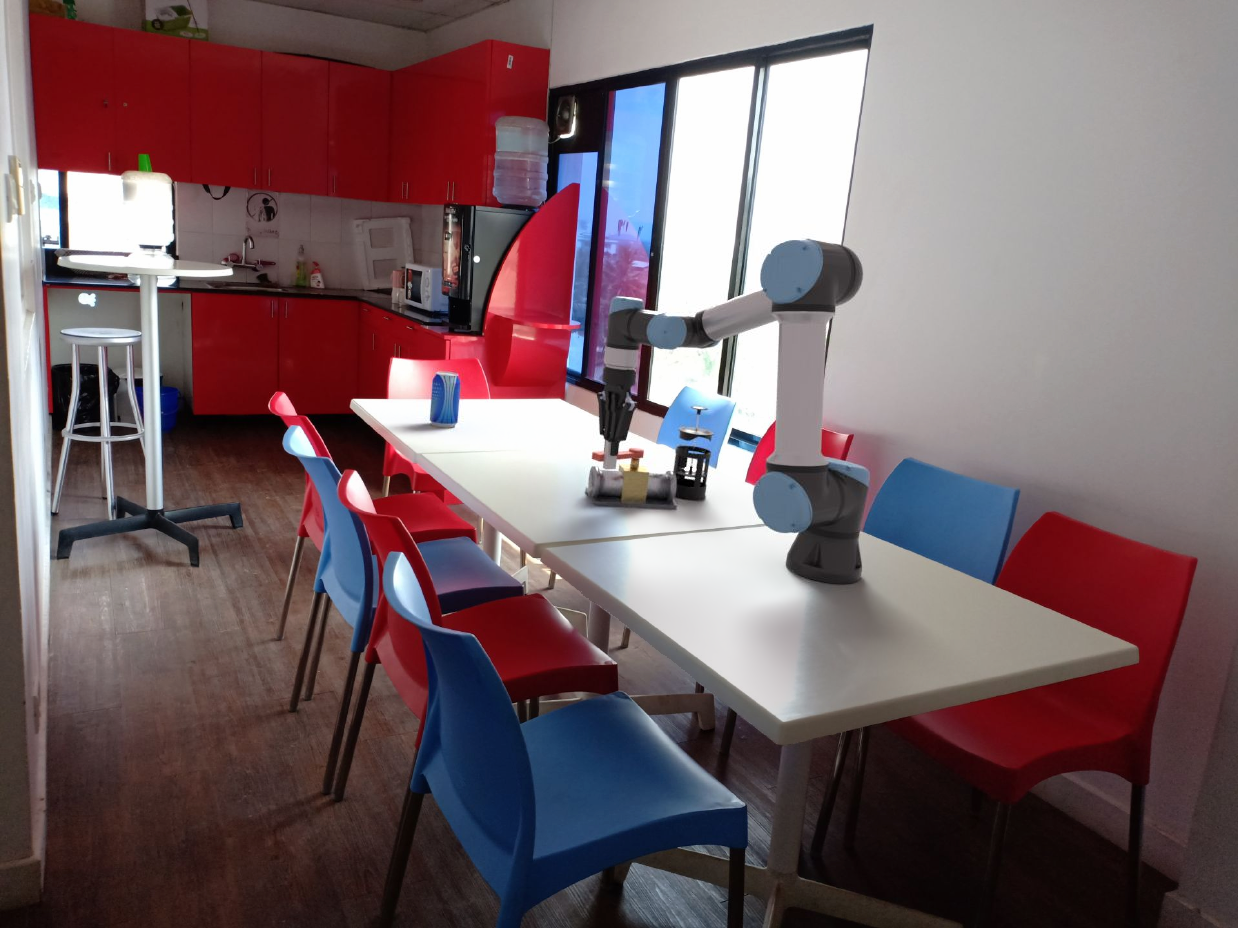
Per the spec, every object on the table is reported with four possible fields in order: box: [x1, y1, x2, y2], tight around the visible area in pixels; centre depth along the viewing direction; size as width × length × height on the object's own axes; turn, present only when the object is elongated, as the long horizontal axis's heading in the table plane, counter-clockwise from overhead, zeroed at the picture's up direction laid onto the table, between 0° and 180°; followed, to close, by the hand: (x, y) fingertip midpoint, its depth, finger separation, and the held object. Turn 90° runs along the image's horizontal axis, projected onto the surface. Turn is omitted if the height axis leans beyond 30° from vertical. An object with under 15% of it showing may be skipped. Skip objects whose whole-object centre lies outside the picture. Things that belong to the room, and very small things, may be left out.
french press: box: [673, 405, 715, 502], centre depth 233 cm, size 12×9×23 cm
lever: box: [591, 447, 645, 463], centre depth 218 cm, size 15×4×2 cm, turn 134°
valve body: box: [584, 458, 678, 511], centre depth 223 cm, size 20×12×10 cm, turn 103°
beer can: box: [429, 371, 462, 429], centre depth 281 cm, size 8×8×16 cm
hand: (609, 468), depth 213 cm, fingers closed
